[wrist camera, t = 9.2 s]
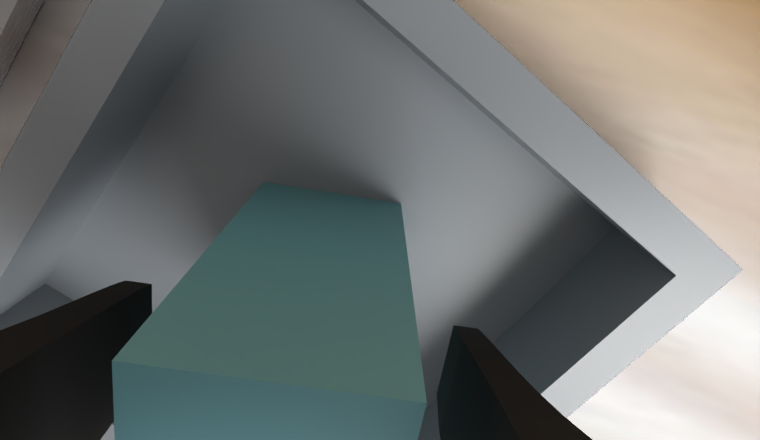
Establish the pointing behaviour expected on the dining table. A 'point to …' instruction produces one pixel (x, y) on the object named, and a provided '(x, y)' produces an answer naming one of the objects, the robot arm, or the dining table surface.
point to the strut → (282, 331)
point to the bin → (350, 176)
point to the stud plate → (14, 28)
